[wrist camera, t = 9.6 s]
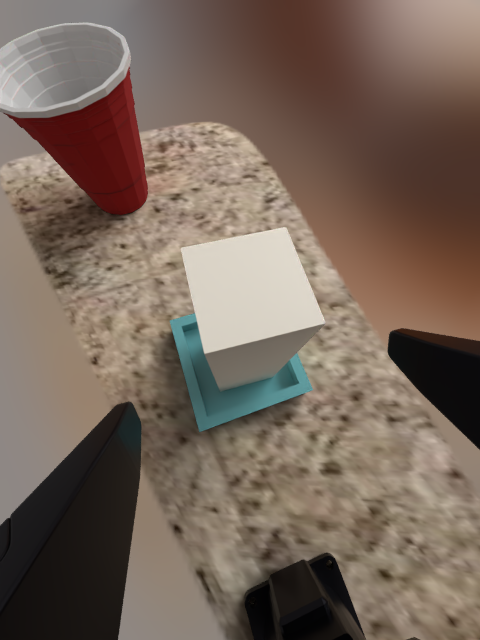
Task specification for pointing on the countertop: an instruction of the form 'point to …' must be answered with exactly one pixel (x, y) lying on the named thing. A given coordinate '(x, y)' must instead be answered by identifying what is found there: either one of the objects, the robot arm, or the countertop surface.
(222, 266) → the cream block
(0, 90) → the plastic cup
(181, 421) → the countertop surface
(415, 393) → the countertop surface
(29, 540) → the robot arm
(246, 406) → the teal dish
